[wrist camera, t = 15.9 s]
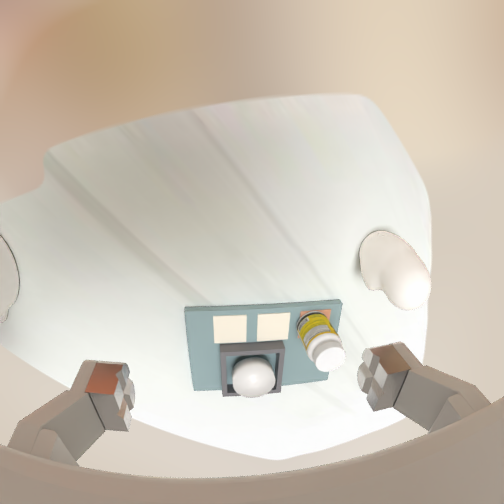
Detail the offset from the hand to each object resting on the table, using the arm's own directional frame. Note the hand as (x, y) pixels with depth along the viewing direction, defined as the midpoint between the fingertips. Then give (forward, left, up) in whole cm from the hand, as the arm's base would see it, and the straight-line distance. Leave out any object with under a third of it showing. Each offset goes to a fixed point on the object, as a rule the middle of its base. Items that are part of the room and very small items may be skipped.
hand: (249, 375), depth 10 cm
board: (+6, -21, -29) cm, 37 cm away
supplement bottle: (+12, -17, -28) cm, 35 cm away
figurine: (+22, -7, -29) cm, 37 cm away
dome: (+4, -24, -28) cm, 37 cm away
